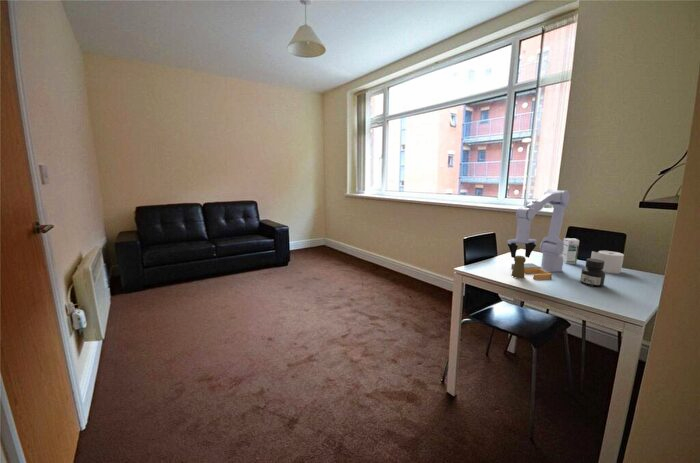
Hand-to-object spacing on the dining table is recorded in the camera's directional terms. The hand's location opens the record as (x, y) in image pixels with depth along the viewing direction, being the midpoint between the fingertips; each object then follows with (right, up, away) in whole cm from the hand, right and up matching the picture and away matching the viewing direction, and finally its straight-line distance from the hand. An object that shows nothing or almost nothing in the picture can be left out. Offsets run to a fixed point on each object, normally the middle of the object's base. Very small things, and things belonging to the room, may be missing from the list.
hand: (520, 257), depth 152 cm
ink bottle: (+30, -13, -8) cm, 34 cm away
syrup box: (+44, -6, +26) cm, 52 cm away
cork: (0, -10, +2) cm, 11 cm away
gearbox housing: (+10, -9, +6) cm, 15 cm away
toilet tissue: (+54, -9, +11) cm, 56 cm away
